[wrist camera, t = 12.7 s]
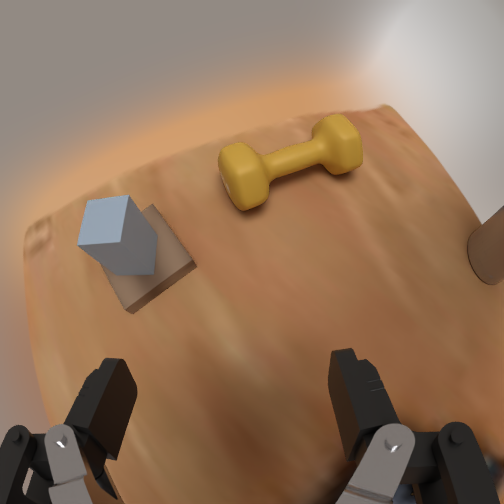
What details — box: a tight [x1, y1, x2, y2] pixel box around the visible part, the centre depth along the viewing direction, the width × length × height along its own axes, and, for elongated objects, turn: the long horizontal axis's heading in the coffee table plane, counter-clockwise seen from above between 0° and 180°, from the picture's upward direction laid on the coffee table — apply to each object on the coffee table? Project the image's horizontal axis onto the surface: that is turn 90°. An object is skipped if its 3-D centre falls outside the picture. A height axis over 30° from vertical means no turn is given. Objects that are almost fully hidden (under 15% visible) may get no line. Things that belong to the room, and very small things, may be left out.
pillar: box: [77, 195, 158, 276], centre depth 29 cm, size 5×5×9 cm
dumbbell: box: [218, 114, 363, 210], centre depth 36 cm, size 19×9×8 cm, turn 114°
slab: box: [100, 204, 197, 314], centre depth 35 cm, size 10×10×3 cm
